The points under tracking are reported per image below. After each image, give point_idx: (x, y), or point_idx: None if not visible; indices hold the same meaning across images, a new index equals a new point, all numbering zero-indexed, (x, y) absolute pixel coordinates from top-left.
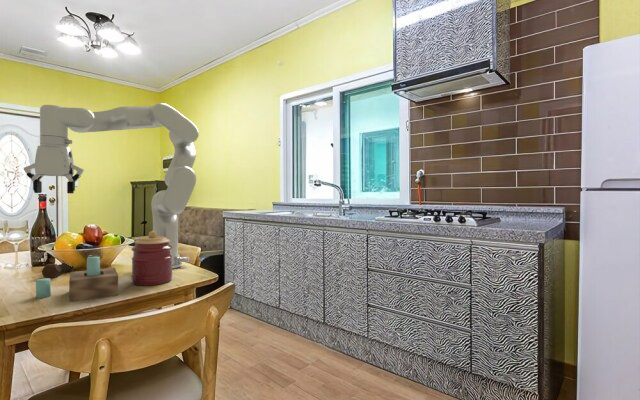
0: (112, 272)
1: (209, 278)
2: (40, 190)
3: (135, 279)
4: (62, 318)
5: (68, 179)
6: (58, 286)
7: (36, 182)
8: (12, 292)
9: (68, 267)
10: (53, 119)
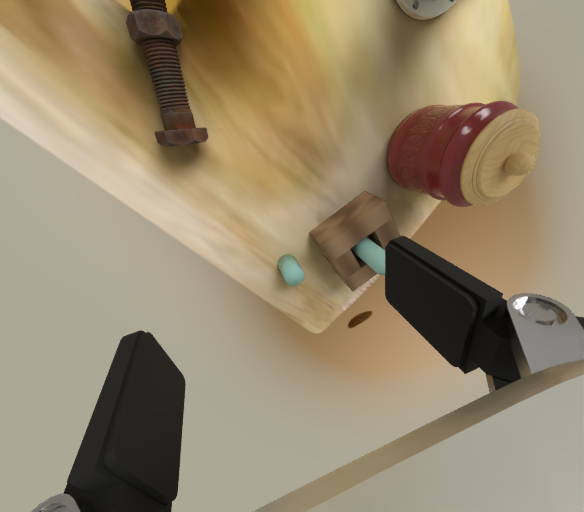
0: (393, 236)
1: None
2: (152, 359)
3: (403, 186)
4: (360, 314)
5: (493, 389)
6: (266, 208)
7: (174, 488)
8: (215, 255)
9: (178, 60)
10: None
